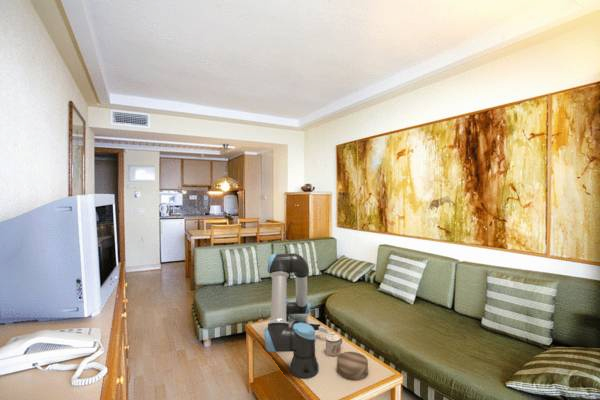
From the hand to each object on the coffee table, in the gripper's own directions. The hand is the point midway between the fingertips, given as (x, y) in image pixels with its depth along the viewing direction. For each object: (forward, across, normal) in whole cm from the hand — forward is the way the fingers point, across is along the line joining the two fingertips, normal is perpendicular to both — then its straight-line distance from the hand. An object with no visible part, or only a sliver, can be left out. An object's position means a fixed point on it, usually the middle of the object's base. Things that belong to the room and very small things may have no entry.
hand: (321, 335), depth 177 cm
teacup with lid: (+9, 0, -7) cm, 12 cm away
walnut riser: (+26, +12, -7) cm, 30 cm away
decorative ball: (-32, -19, -7) cm, 38 cm away
